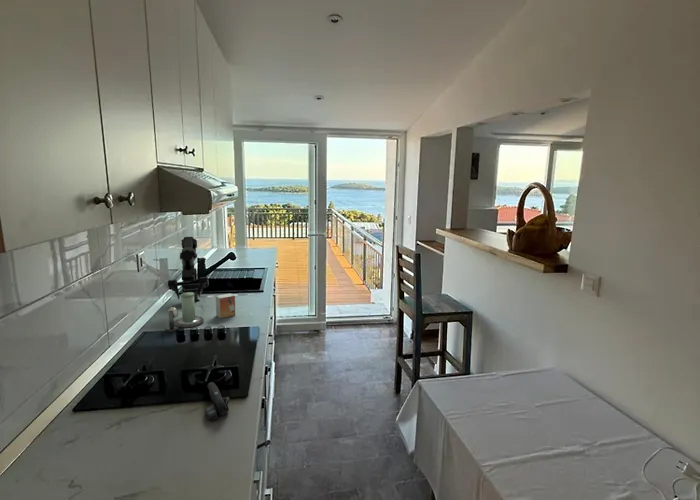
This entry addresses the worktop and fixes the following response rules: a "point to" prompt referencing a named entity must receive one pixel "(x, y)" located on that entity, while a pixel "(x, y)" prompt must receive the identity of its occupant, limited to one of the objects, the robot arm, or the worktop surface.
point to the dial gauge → (172, 314)
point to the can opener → (216, 403)
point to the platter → (195, 323)
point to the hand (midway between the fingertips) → (188, 298)
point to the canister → (188, 307)
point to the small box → (225, 305)
